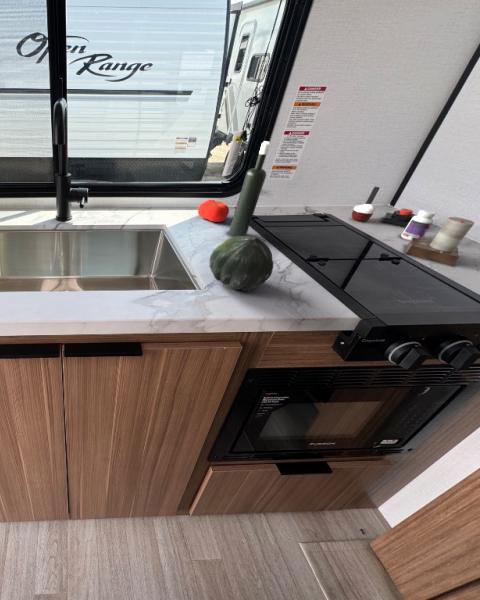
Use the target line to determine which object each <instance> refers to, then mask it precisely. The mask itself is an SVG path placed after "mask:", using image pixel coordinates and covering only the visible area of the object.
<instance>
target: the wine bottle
mask: <svg viewBox="0 0 480 600" xmlns="http://www.w3.org/2000/svg"><path fill="white" fill-rule="evenodd" d="M270 144H271V143H270V141H267V140H263V142H261V146H260V150H259V152H258V155H257V159H256V163H255V166H254V167H253V168H250V169H248V171H246V173H245V177H244V180H243V183H242V187H241V189H240V193H239V197H238V200H237V203H236V206H235V209H234V213H233V216H232V220H231V223H230V226H229V229H228V233H227V234H228V235H229V236H230V237H234V236H247V233H248V230H249V227H250V225H251V222H252V219H253V216H254V213H255V210H256V207H257V204H258V201H259V198H260V195H261V192H262V189H263V186H264V185H265V184H264V183H265V181H266V178H267V172H266V170H265V169H264V168H263V165H264V163H265V159H266V156H267V155H268V152H269V148H270V146H271V145H270Z"/></svg>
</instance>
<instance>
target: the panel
mask: <svg viewBox="0 0 480 600" xmlns="http://www.w3.org/2000/svg"><path fill="white" fill-rule="evenodd" d="M431 242H432V240H427V239H423V238H422V239H418V238H414V237H413V238H412V239H411V240H409V242H408V243H407V246H406V250H405V255H408V256H412V257H416V258H419V259H423V260H427V261H431V262H435V263H440V264H444V265H448V266H451V267H452V266H454V264H455V263H456V262H457V260H458V259H459V258H460V254H463V253H464V252H463V251H459V247H458V246H457V247H456V248H455V249H454V251H453V252H445V251H440V250H437V249H434V248H432V247H430V243H431Z"/></svg>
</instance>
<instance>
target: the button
mask: <svg viewBox="0 0 480 600" xmlns="http://www.w3.org/2000/svg"><path fill="white" fill-rule="evenodd" d="M399 211H400V212H399V214H402V215H408V216H411V214H412V213H413V214H414V210H412V209H409V208H401V209H400V210H399Z"/></svg>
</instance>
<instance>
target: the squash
mask: <svg viewBox="0 0 480 600" xmlns="http://www.w3.org/2000/svg"><path fill="white" fill-rule="evenodd" d="M208 262H209V269H210V270H211V273H212V275H213V277H214V278H215V280H216V281H220V282H221V283H222V284H223V285H228V287H229V288H230V289H231V290H233V291H239V290H241V291H244V292H248V291H251V290H253V289H255V288H256V287H259V286H261V285H262V284H264V283H265V282H267V281H268V280H269V279H270V278H271V276H272V273H273V270H274V261H273V254H272V250H271V248H270V247H269V246H268V245H267V244H266V242H264V241H263V240H262V239H260V238H259V237H257V236H253V235H246V236H234V237H233V236H230V237H229V238H227V239H225V240H224V241H223V242H222V243H221V244H220V245H217V246H216V248H214V249H213V251H212V252H211V254H210V257H209V261H208ZM245 290H246V291H245Z"/></svg>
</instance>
